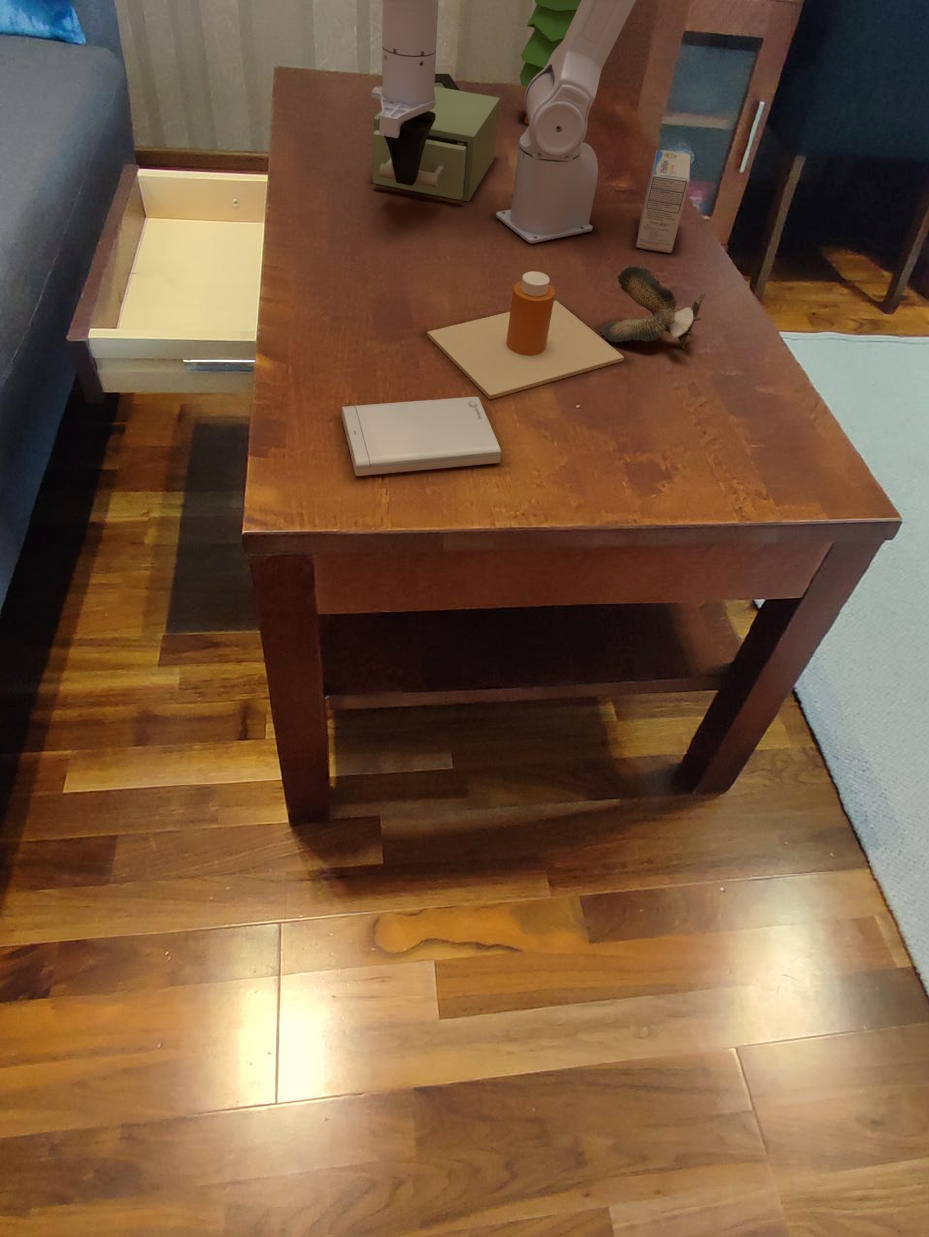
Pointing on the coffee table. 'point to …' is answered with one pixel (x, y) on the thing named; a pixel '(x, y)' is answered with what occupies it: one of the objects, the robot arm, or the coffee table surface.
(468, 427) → the hard drive
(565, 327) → the mat
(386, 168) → the drawer
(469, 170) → the cabinet
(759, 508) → the coffee table surface
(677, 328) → the eagle figurine
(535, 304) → the bottle
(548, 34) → the decorative tree
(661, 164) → the medicine box
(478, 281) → the coffee table surface
